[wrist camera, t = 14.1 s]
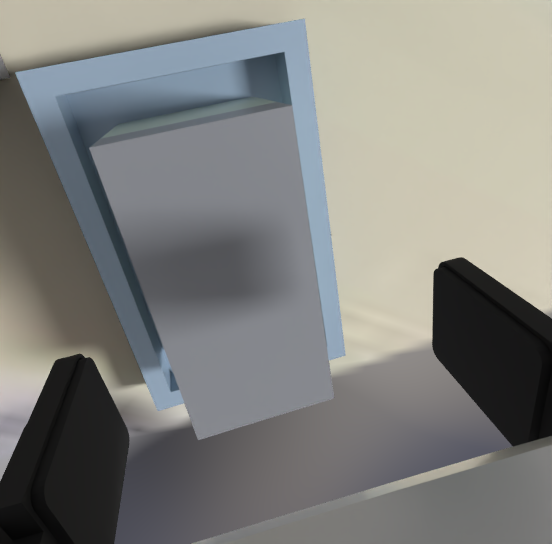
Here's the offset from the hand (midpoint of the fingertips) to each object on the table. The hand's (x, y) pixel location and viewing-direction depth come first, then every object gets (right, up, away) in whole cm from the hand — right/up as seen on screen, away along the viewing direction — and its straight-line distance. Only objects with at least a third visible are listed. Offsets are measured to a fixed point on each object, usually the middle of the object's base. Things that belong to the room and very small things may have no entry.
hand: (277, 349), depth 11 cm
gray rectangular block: (-3, +4, +10) cm, 11 cm away
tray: (-3, +4, +11) cm, 12 cm away
